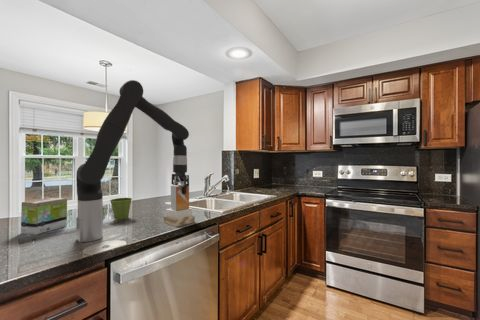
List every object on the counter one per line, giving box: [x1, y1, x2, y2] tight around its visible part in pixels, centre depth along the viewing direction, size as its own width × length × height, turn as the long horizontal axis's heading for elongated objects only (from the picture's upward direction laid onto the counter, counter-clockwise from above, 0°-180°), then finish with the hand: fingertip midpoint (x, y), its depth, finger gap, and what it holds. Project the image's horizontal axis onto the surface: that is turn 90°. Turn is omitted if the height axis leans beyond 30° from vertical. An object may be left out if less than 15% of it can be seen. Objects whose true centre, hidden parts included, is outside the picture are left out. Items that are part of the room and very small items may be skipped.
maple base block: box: [163, 215, 196, 227], centre depth 131 cm, size 12×12×4 cm
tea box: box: [20, 197, 68, 235], centre depth 117 cm, size 15×10×15 cm
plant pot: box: [109, 197, 133, 221], centre depth 138 cm, size 12×12×11 cm
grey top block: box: [165, 207, 193, 219], centre depth 131 cm, size 10×10×4 cm
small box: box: [170, 184, 190, 211], centre depth 131 cm, size 8×6×13 cm
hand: (179, 193), depth 131 cm, fingers open, 8 cm apart
